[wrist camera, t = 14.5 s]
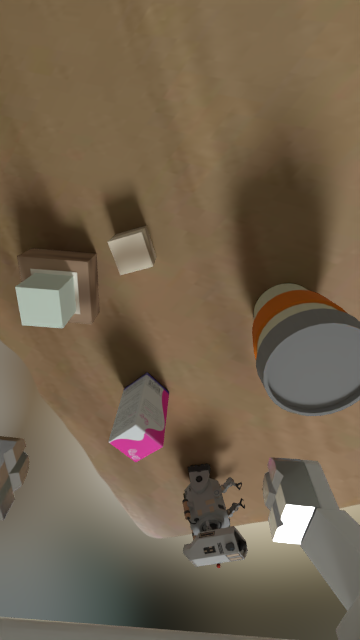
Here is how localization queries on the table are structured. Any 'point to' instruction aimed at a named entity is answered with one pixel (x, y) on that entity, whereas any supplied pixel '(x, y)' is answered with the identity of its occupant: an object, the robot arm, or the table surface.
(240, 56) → the table surface
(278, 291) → the reusable coffee cup
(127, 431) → the supplement box
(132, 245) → the block
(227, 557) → the figurine
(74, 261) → the walnut base
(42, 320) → the sage block
